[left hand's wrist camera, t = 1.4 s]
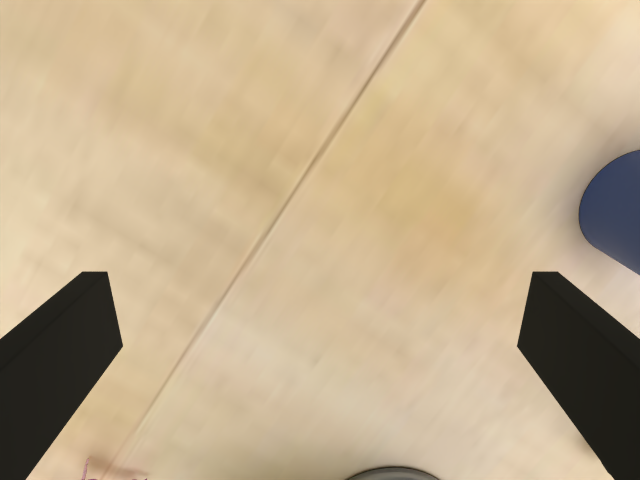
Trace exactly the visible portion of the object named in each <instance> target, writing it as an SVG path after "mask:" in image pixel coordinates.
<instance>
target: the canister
mask: <svg viewBox="0 0 640 480" xmlns="http://www.w3.org/2000/svg"><path fill="white" fill-rule="evenodd" d="M579 222H580V227H581V230H582V232H583V234H584V236H585V238H586V239H587V240H588V242H589V243H590V244H592V245H593V246H594V247H595V248H597V249H599V250H600V251H602V252H603V253H605V254H607V255H608V256H610V257H611V258H613V259H615V260H616V261H618V262H619V263H621V264H623V265H624V266H626V267H627V268H629V269H631V270H632V271H634V272H635V273H637V274H639V275H640V150H638V151H634V152H631V153H628V154H625V155H623V156H621V157H619V158H617V159H616V160H614V161H612V162H611V163H609V164H608V165H607V166H606V167H604V168H603V169H602V170H601V171H600V172H599V173H598V174H597V175H596V176H595V177H594V179H593V180H592V181H591V183H590V184H589V186H588V187H587V189H586V191H585V193H584V195H583V198H582V200H581V204H580V210H579Z"/></svg>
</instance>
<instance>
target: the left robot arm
mask: <svg viewBox="0 0 640 480" xmlns="http://www.w3.org/2000/svg"><path fill="white" fill-rule="evenodd" d="M122 347H123V344H122V339H121V335H120V330H119V325H118V320H117V316H116V311H115V306H114V301H113V297H112V292H111V287H110V282H109V278H108V273H107V272H81V273H80V274H79V275H78V276H77V277H75V278H74V279H73V280H72V281H70V282H69V283H68V284H67V285H66V286H64V287H63V288H62V289H61V290H59V291H58V292H57V293H56V294H55V295H53V296H52V297H51V298H50V299H49V300H47V301H46V302H45V303H44V304H42V305H41V306H40V307H39V308H38V309H36V310H35V311H34V312H33V313H31V314H30V315H29V316H28V317H27V318H25V319H24V320H23V321H22V322H21V323H19V324H18V325H17V326H16V327H14V328H13V329H12V330H11V331H10V332H8V333H7V334H6V335H5V336H3V337H2V338H1V339H0V480H26V478H27V477H28V476H29V474H30V473H31V472H32V470H33V469H34V467H35V466H36V465H37V463H38V462H39V461H40V459H41V458H42V456H43V455H44V454H45V452H46V451H47V450H48V448H49V447H50V445H51V444H52V443H53V441H54V440H55V439H56V437H57V436H58V435H59V433H60V432H61V430H62V429H63V428H64V426H65V425H66V424H67V422H68V421H69V419H70V418H71V417H72V415H73V414H74V413H75V411H76V410H77V409H78V407H79V406H80V404H81V403H82V402H83V400H84V399H85V398H86V396H87V395H88V393H89V392H90V391H91V389H92V388H93V387H94V385H95V384H96V383H97V381H98V380H99V378H100V377H101V376H102V374H103V373H104V372H105V370H106V369H107V367H108V366H109V365H110V363H111V362H112V361H113V359H114V358H115V357H116V355H117V354H118V352H119V351H120V350H121V348H122ZM517 347H518V348H519V350H520V351H521V352H522V354H523V355H524V357H525V358H526V359H527V361H528V362H529V363H530V365H531V366H532V367H533V369H534V370H535V372H536V373H537V374H538V376H539V377H540V378H541V380H542V381H543V383H544V384H545V385H546V387H547V388H548V389H549V391H550V392H551V393H552V395H553V396H554V398H555V399H556V400H557V402H558V403H559V404H560V406H561V407H562V409H563V410H564V411H565V413H566V414H567V415H568V417H569V418H570V419H571V421H572V422H573V424H574V425H575V426H576V428H577V429H578V430H579V432H580V433H581V435H582V436H583V437H584V439H585V440H586V441H587V443H588V444H589V445H590V447H591V448H592V450H593V451H594V452H595V454H596V455H597V456H598V458H599V459H600V461H601V462H602V463H603V465H604V466H605V467H606V469H607V470H608V472H609V473H610V474H611V476H612V477H613V478H614V480H640V339H639V338H638V337H637V336H635V335H634V334H633V333H632V332H630V331H629V330H628V329H627V328H626V327H624V326H623V325H622V324H621V323H619V322H618V321H617V320H616V319H615V318H613V317H612V316H611V315H610V314H609V313H607V312H606V311H605V310H604V309H602V308H601V307H600V306H599V305H598V304H596V303H595V302H594V301H593V300H591V299H590V298H589V297H588V296H587V295H585V294H584V293H583V292H582V291H581V290H579V289H578V288H577V287H576V286H574V285H573V284H572V283H571V282H570V281H568V280H567V279H566V278H565V277H563V276H562V275H561V274H560V273H559V272H533V273H532V278H531V282H530V287H529V292H528V297H527V301H526V306H525V311H524V316H523V320H522V325H521V330H520V335H519V339H518V344H517ZM349 480H438V479H436V478H435V477H433V476H431V475H428V474H426V473H423V472H420V471H417V470H412V469H406V468H383V469H376V470H371V471H368V472H364V473H361V474H359V475H357V476H354V477H352V478H350V479H349Z"/></svg>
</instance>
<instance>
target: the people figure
mask: <svg viewBox="0 0 640 480" xmlns="http://www.w3.org/2000/svg"><path fill="white" fill-rule="evenodd" d="M88 461H89V459H87V461H86V465H85V468H84V471H83V476H82V479H81V480H85V477H86V473H87V464H88ZM90 480H96V479H90ZM134 480H135V479H134ZM145 480H147V479H145Z"/></svg>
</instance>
